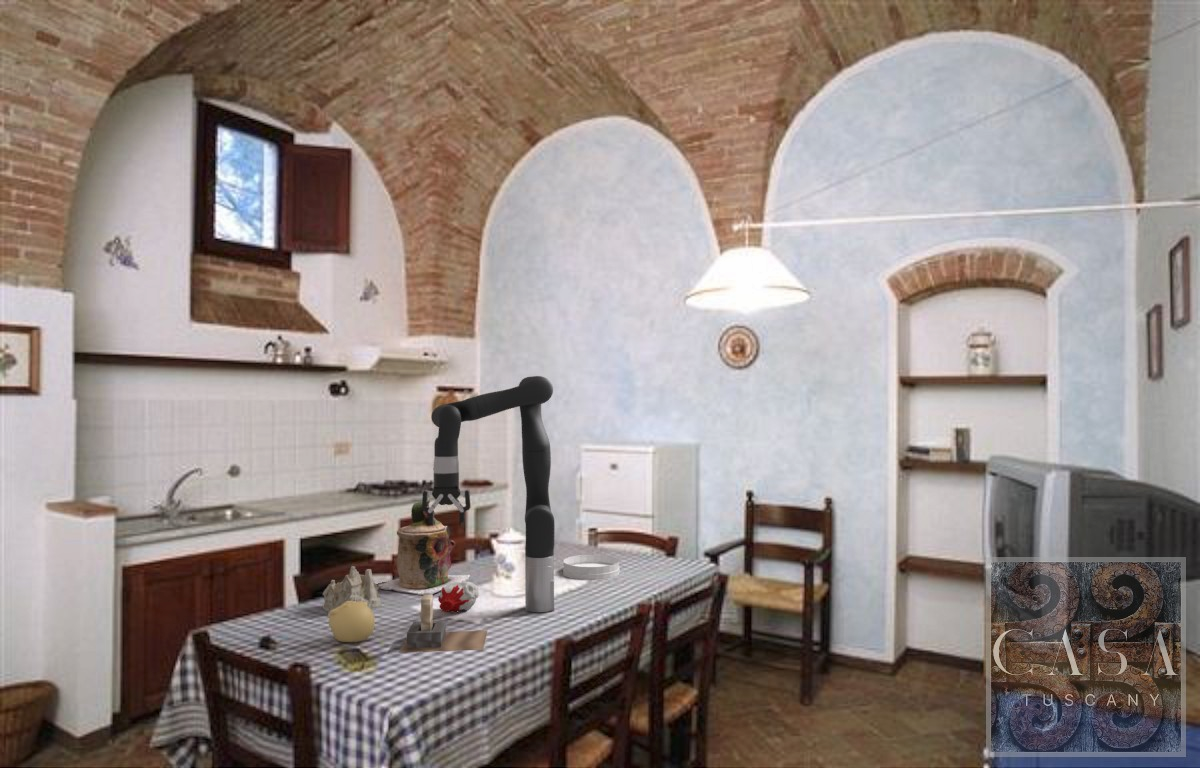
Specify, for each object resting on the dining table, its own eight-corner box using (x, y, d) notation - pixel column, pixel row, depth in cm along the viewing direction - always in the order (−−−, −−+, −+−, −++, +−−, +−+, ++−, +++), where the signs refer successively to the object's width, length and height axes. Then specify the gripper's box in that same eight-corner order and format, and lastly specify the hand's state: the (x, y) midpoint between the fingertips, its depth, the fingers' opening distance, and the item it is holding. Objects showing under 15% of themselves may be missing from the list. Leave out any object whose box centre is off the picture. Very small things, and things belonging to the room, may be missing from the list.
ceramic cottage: (388, 605, 243) (384, 559, 244) (342, 619, 231) (339, 571, 231) (361, 600, 253) (358, 556, 254) (317, 613, 241) (313, 567, 241)
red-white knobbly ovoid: (480, 603, 243) (463, 623, 229) (448, 601, 246) (429, 620, 231) (479, 577, 242) (462, 595, 228) (447, 575, 245) (428, 592, 230)
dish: (554, 570, 293) (554, 557, 293) (604, 564, 302) (604, 552, 302) (576, 583, 273) (576, 569, 273) (629, 576, 282) (629, 563, 282)
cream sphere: (358, 630, 218) (358, 593, 218) (382, 638, 210) (382, 600, 211) (322, 640, 209) (322, 602, 209) (346, 649, 201) (346, 609, 202)
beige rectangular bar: (432, 637, 206) (432, 594, 207) (430, 643, 201) (430, 599, 202) (423, 637, 206) (423, 594, 206) (421, 643, 201) (420, 599, 201)
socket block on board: (487, 635, 212) (487, 616, 212) (483, 655, 196) (483, 634, 196) (409, 638, 211) (409, 618, 211) (399, 658, 195) (399, 637, 195)
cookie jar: (375, 590, 264) (375, 500, 264) (418, 574, 286) (418, 492, 287) (432, 597, 254) (431, 504, 254) (472, 580, 276) (471, 495, 277)
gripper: (471, 469, 228) (471, 522, 228) (424, 470, 227) (424, 523, 226) (468, 472, 220) (469, 526, 220) (420, 472, 219) (420, 527, 219)
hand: (446, 524), depth 223 cm, fingers open, 8 cm apart
